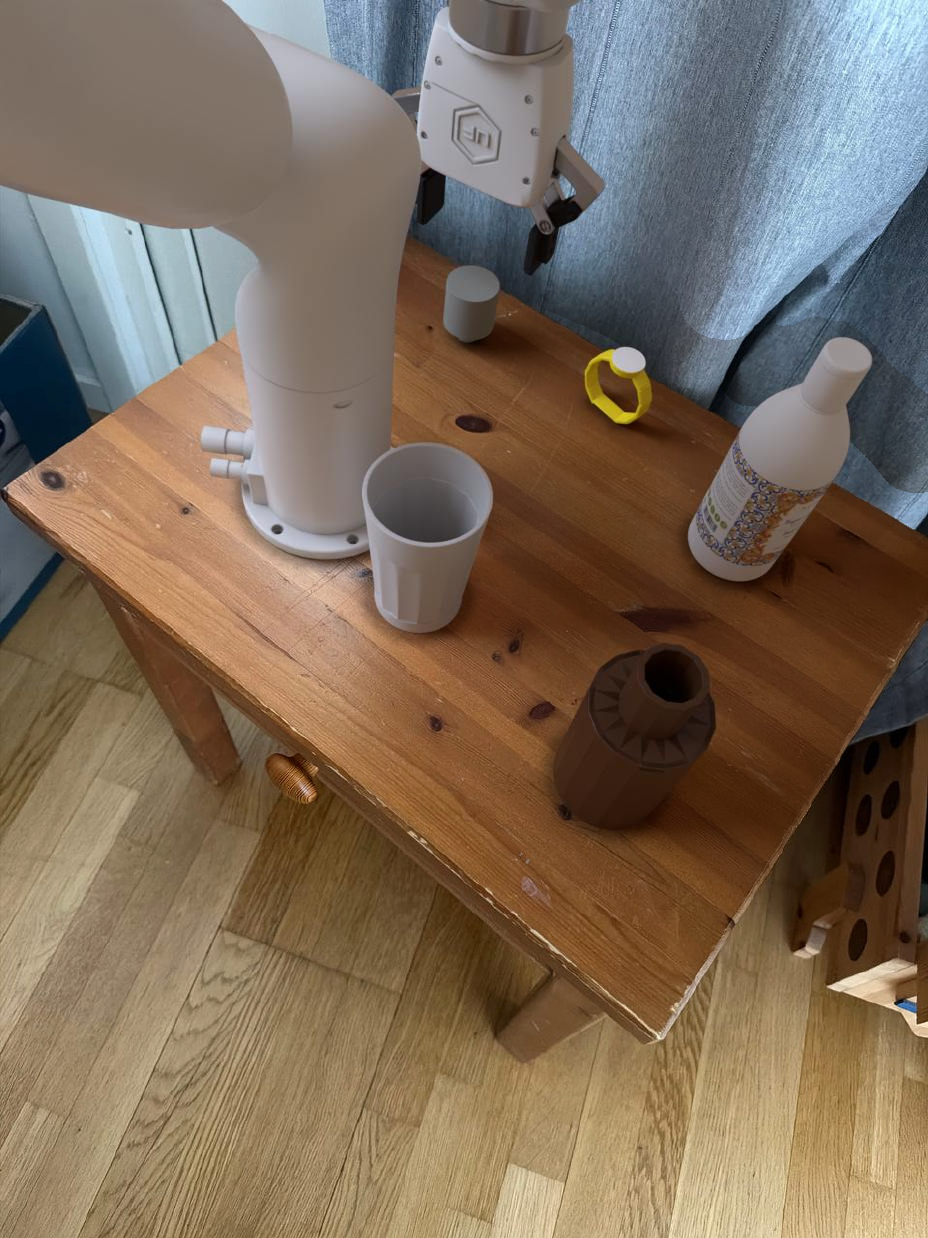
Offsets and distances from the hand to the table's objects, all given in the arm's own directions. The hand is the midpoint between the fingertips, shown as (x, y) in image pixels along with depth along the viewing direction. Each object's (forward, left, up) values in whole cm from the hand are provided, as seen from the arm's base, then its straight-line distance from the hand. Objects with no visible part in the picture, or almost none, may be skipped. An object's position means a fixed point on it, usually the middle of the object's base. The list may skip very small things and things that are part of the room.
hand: (482, 239), depth 71 cm
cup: (-1, -28, -10) cm, 29 cm away
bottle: (+13, -40, -9) cm, 43 cm away
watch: (+12, -7, -10) cm, 17 cm away
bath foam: (+22, -20, -10) cm, 31 cm away
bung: (0, -1, -9) cm, 9 cm away
